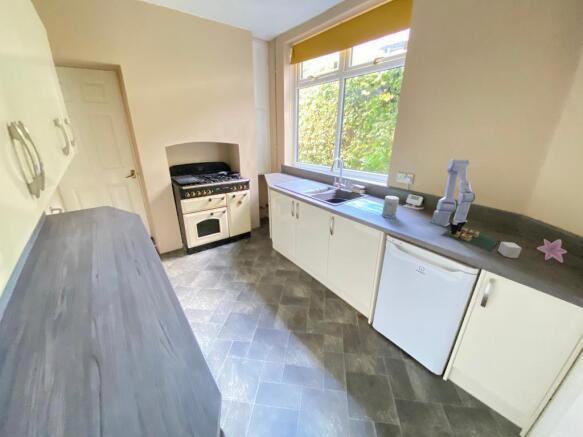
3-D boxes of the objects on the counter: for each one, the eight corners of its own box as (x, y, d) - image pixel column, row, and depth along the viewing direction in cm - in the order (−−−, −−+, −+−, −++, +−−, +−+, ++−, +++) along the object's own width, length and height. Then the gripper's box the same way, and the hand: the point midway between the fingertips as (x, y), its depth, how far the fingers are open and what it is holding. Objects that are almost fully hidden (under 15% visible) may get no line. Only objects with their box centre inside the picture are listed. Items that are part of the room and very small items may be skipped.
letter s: (449, 235, 146) (450, 231, 145) (451, 233, 148) (453, 229, 147) (457, 237, 142) (458, 233, 141) (459, 235, 145) (461, 232, 144)
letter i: (456, 231, 151) (458, 228, 150) (459, 230, 153) (460, 226, 152) (464, 234, 148) (466, 230, 147) (467, 232, 150) (468, 228, 149)
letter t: (467, 234, 146) (469, 231, 145) (470, 233, 149) (471, 229, 148) (476, 237, 143) (477, 233, 142) (478, 235, 146) (479, 232, 145)
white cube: (509, 252, 127) (514, 242, 125) (517, 258, 122) (521, 248, 119) (497, 251, 128) (501, 241, 126) (504, 256, 123) (508, 246, 120)
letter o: (460, 238, 141) (461, 234, 140) (462, 236, 144) (464, 233, 143) (468, 241, 138) (470, 237, 137) (471, 239, 141) (472, 235, 140)
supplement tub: (382, 213, 181) (386, 194, 176) (395, 215, 177) (399, 196, 172) (381, 217, 173) (384, 198, 168) (394, 219, 169) (398, 200, 164)
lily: (527, 256, 126) (541, 246, 118) (531, 242, 131) (546, 232, 124) (554, 270, 121) (571, 261, 113) (558, 255, 126) (574, 245, 119)
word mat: (441, 235, 145) (441, 235, 145) (453, 228, 157) (453, 227, 157) (489, 251, 128) (489, 250, 128) (498, 241, 140) (499, 240, 140)
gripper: (465, 216, 132) (458, 238, 137) (473, 211, 141) (466, 232, 146) (451, 212, 137) (445, 233, 142) (460, 208, 146) (454, 228, 151)
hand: (455, 232), depth 144 cm, fingers open, 7 cm apart
